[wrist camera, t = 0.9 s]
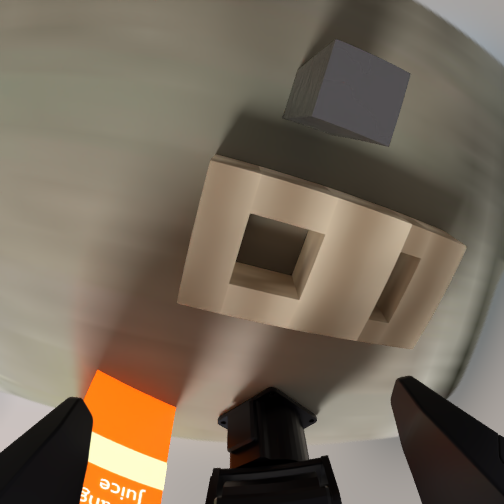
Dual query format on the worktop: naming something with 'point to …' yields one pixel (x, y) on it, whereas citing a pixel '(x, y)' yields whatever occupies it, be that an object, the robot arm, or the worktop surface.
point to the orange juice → (126, 444)
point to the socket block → (317, 259)
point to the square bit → (348, 94)
